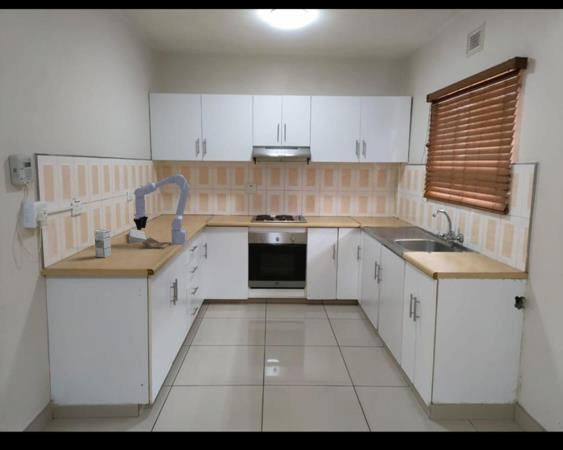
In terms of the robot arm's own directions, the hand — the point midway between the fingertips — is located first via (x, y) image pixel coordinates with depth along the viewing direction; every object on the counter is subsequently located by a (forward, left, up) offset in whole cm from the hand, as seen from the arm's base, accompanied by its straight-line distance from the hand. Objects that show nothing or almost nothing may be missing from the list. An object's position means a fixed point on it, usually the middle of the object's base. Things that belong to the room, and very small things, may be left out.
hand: (141, 229), depth 247 cm
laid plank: (-15, +7, -10) cm, 19 cm away
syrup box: (+10, +34, -10) cm, 37 cm away
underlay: (-11, +7, -10) cm, 16 cm away
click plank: (-8, +7, -8) cm, 13 cm away
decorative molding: (+11, -23, -11) cm, 27 cm away
